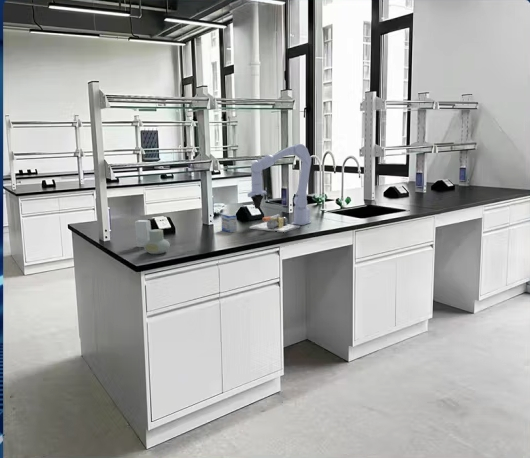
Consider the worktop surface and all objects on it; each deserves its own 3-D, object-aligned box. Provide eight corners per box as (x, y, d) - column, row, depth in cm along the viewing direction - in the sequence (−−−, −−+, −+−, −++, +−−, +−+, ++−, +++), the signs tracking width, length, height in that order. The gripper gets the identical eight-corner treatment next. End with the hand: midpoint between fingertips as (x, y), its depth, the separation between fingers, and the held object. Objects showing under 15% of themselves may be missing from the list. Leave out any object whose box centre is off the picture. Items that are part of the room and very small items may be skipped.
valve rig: (266, 223, 273) (266, 213, 272) (299, 227, 261) (299, 216, 259) (249, 228, 260) (249, 217, 259) (283, 232, 248) (283, 221, 247)
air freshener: (173, 251, 213) (171, 229, 211) (163, 255, 205) (162, 232, 203) (151, 249, 216) (150, 228, 214) (141, 254, 209) (139, 231, 207)
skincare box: (152, 245, 225) (151, 220, 222) (148, 247, 220) (146, 221, 218) (141, 245, 226) (139, 219, 224) (136, 247, 222) (134, 221, 220)
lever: (276, 216, 261) (276, 214, 260) (280, 217, 259) (280, 214, 259) (262, 220, 250) (262, 218, 249) (266, 221, 248) (266, 218, 248)
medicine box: (221, 230, 257) (220, 214, 255) (228, 229, 260) (227, 213, 258) (230, 232, 251) (229, 216, 249) (237, 231, 254) (236, 215, 252)
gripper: (258, 182, 272) (259, 206, 275) (242, 185, 261) (243, 209, 264) (269, 183, 268) (269, 207, 271) (253, 185, 257) (253, 210, 260)
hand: (257, 208), depth 267 cm, fingers closed
